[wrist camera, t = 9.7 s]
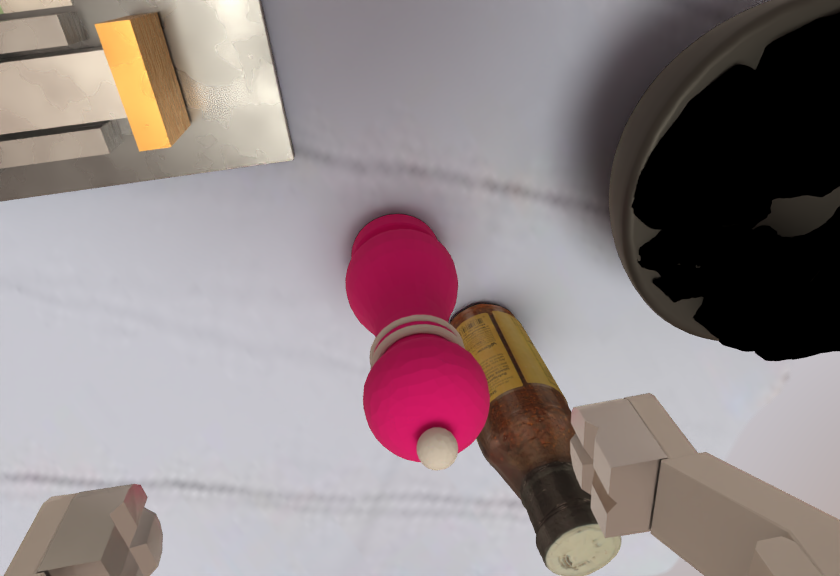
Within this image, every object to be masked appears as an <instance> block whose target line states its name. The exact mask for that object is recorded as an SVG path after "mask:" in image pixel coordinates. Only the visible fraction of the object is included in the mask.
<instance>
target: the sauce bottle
mask: <svg viewBox="0 0 840 576" xmlns="http://www.w3.org/2000/svg"><path fill="white" fill-rule="evenodd" d="M450 324H451V325H452V326H453V327H454V328H455V329H456V330H457V331H458V333H459V334H460V336H461V338H462V340H463V344H464V347H465V350H467V351H468V352H470V353H471V354H472V355H473V357H474V358H475V359H476V360H477V362H478V363H479V364H480V365H481V367H482V369H483V371H484V373H485V376H486V379H487V382H488V388H489V394H490V407H489V413H488V417H487V420H486V423H485V426H484V427H483V429H482V431H481V432H480V434H479V435H478V437H477V438H476V439H477V442H478V444H479V447H480V449H481V451H482V453H483V455H484V457H485V458H486V460H487V461H488V462H489V463H490V465H491V466H492V467H493V468H495V470H496V471H497V472H498V473H499V474H500V475H501V477H502V478H503V479H504V480H505V481H506V483H507V484H508V485H509V486H510V487H511V489H512V490H513V491H514V492H515V493H516V495H517V496H518V497H519V498H520V499H521V501H522V504H523V506H524V507H525V508H526V509H527V512H528V515H529V518H530V521H531V523H532V525H533V527H534V530H535V533H536V545H537V548H538V550H539V552H540V555H541V556H542V558H543V561H544V563H545V565H546V567H547V568H548V569H549V570H551V571H552V572H553V573H556V574H558V575H562V576H584V575H589V574H591V573H593V572H595V571H597V570H599V569H600V568H602V567H604V566H605V565H606V564H608V563H609V562H610V561H611V560H612V559H613V558H614V557H615V556H616V555H617V553H618V551H619V549H620V546H621V536H617V537H610V538H605V537H604V535H603V533H602V531H601V529H600V527H599V525H598V522H597V520H596V518H595V516H594V514H593V512H592V510H591V495H590V494H589V493H587V492H585V491H584V490H582V489H581V487H580V485H579V482H578V480H577V478H576V475H575V472H574V469H573V465H572V460H571V454H570V440H571V438H572V437H573V436H574V435H575V434H576V432H575V430H574V428H573V426H572V424H571V411H570V409H569V407H568V403H567V401H566V399H565V397H564V395H563V394H562V392H561V390H560V389H559V387H558V385H557V384H556V382H555V380H554V378H553V377H552V375H551V373H550V372H549V370H548V368H547V366H546V365H545V363H544V361H543V360H542V358H541V356H540V355H539V353H538V351H537V350H536V348H535V346H534V345H533V343H532V341H531V340H530V338H529V336H528V335H527V333H526V331H525V330H524V328H523V327H522V325H521V324H520V322H519V321H518V320H517V319H515V317H514V315H513V314H512V313H511V312H510V311H509V310H507V309H505V308H503V307H501V306H496V305H492V304H478V305H474V306H471V307H469V308H467V309H466V310H464V311H462V312H460V313H459V314H458V315H457V316H456V317H455V318H453V320H452V321H451V323H450Z"/></svg>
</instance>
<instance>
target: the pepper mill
mask: <svg viewBox="0 0 840 576" xmlns="http://www.w3.org/2000/svg"><path fill="white" fill-rule="evenodd" d="M351 257H352V259H351V261H350V263H349V266H348V269H347V273H346V292H347V297H348V300H349V304H350V307H351V309H352V310H353V312H354V314H355V316H356V317H357V318H358V320H359V321H360V323H361V324H362V325H363V326H365V327H366V328H367V329H368V330H369V331H370V332H371V333H373V334H374V335H375V337H376V338H375V340H374V342H373V344H372V347H371V350H370V365H371V370H370V372H369V374H368V377H367V379H366V382H365V385H364V395H363V405H364V411H365V415H366V419H367V422H368V425H369V428H370V429H371V431H372V433H373V434H374V436H375V437H376V439H377V440H378V441H379V442H380V443H381V444H382V445H383V446H384V447H385V448H387V449H388V450H389V451H391V452H392V453H394V454H395V455H397V456H399V457H402V458H404V459H406V460H411V461H416V462H422V464H423V465H424V466H426V467H427V468H429V469H432V470H442V469H446V468H448V467H449V466H451V465H452V464H453V463H454V461H455V459H456V457H457V454H458V453H459V452H461V451H462V450H464V449H465V448H467V447H468V446H469V445H470V444H471V443H472V442H473V441H474V440H475V439H476V438H477V437H478V435H479V434H480V432H481V431H482V429H483V427H484V426H485V423H486V420H487V417H488V413H489V407H490V394H489V388H488V382H487V379H486V376H485V373H484V371H483V369H482V367H481V365H480V364H479V363H478V362H477V360H476V359H475V358H474V357H473V355H472V354H471V353H470V352H468V351H467V350H465V347H464V344H463V340H462V338H461V336H460V334H459V333H458V331H457V330H456V329H455V328H454V327H453V326H452V325H451V324H450V323H448V321H449V318H450V315H451V313H452V311H453V309H454V306H455V304H456V299H457V290H458V279H457V274H456V270H455V266H454V262H453V260H452V258H451V255H450V254H449V253H448V251H447V250H446V248H445V247H444V246H443V245H442V244H441V243H440V242H439V241H437V238H436V236H435V234H434V233H433V231H432V230H431V229H430V228H429V227H428V226H427V225H426V224H425V223H424V222H422V221H421V220H419V219H417V218H415V217H412V216H408V215H404V214H391V215H385V216H382V217H379V218H377V219H375V220H373V221H371V222H370V223H368V224H367V225H366V226H365V227H364V228H363V229H362V230H361V231H360V232H359V234H358V235H357V237H356V239H355V241H354V244H353V247H352V255H351Z"/></svg>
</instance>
